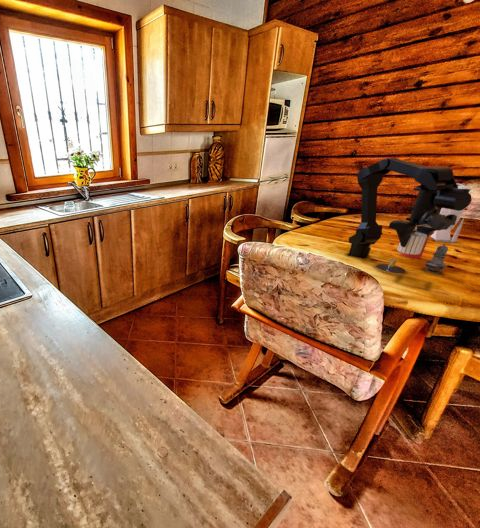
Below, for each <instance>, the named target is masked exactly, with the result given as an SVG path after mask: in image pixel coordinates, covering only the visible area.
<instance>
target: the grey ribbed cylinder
mask: <svg viewBox="0 0 480 528" xmlns="http://www.w3.org/2000/svg"><path fill="white" fill-rule="evenodd" d="M426 237H427V235H426V234H422V233H418V232H416V233H414V234H412V235H411V237H410V239H409V241H408V243H407V244H406V246H405V247H402V246H401V244H400V242H399V243H398V246H397V248H396V250H397V251H398V252H399V253H401V252H402V253H406V254H414V255H416V254H420V253H421V250H422V248H423V245H424V242H425V240H426Z"/></svg>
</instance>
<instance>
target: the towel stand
mask: <svg viewBox="0 0 480 528" xmlns="http://www.w3.org/2000/svg"><path fill="white" fill-rule="evenodd" d="M397 261H398V259H396V258H390V259H389V261H388V263H387V264H386V263H378V264H376V268H377V269H379V271H383V272H387V273H390V274H391V273H392V274H405V273H406V270H405V269H404V268H403V267H400V266H399V265H398V266H397V265H396V264H397Z"/></svg>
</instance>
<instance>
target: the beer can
mask: <svg viewBox="0 0 480 528" xmlns="http://www.w3.org/2000/svg"><path fill="white" fill-rule="evenodd" d="M413 231H417V228H415V229H414V230H413ZM429 239H430V235H429V236H428V237H427V238H426V240H425V242H424V245H423V248H422V250H421V253H420V254H416V255H414V254H406V253H402V252H400V254H401V256H402V257H405V258H409V259H417V260H418V259H421V258H422V256H423V253H424V251H425V249H426V246H427V244H428V241H429Z"/></svg>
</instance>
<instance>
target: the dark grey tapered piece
mask: <svg viewBox="0 0 480 528" xmlns="http://www.w3.org/2000/svg"><path fill="white" fill-rule="evenodd" d="M448 251H449V247H448V246H446V243H443V244H442V245H439V246H437V247H436V249H435V252H434V253H432V254H433V255H432V258H431V259H430V260H426V261H425V262H424V263H425V267H426V268H425V269H424V270H425V272H427V273H432V274H441V273H442V272H441V271H443V270H444V269H445V268H446V267H447V266H448V265H447V264H446V263H444V261H445V258H447V253H448Z"/></svg>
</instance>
